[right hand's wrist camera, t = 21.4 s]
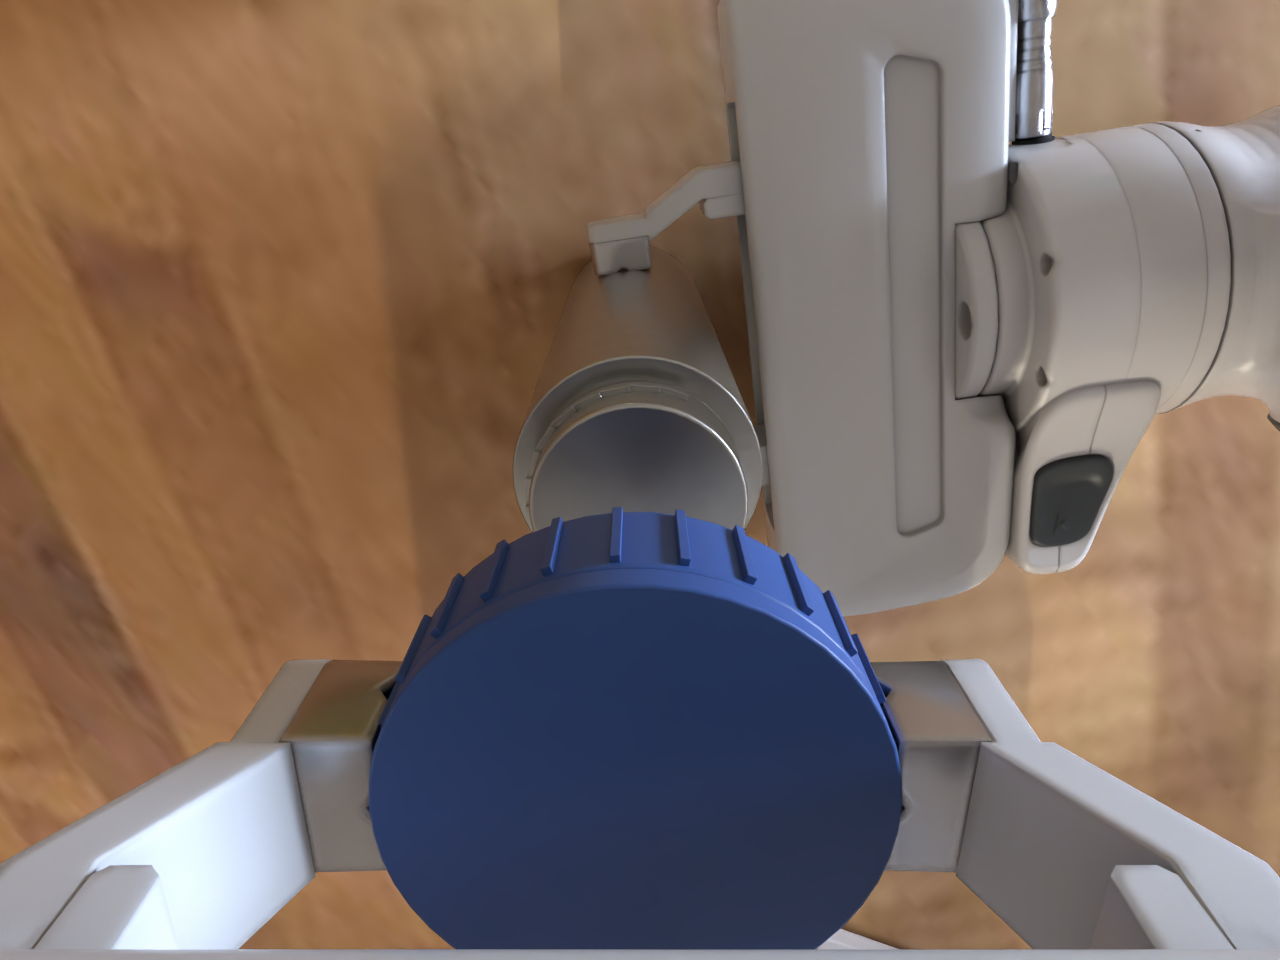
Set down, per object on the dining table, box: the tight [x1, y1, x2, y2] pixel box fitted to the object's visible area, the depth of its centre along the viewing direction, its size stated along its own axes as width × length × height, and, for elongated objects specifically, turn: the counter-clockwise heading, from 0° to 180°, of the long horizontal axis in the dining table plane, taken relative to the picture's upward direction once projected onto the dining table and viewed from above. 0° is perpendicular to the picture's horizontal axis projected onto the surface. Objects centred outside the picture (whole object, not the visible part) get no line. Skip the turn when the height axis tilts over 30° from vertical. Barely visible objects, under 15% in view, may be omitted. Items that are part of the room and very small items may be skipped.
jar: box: [513, 246, 763, 533], centre depth 24 cm, size 5×5×18 cm
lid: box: [369, 507, 903, 950], centre depth 10 cm, size 6×6×2 cm
